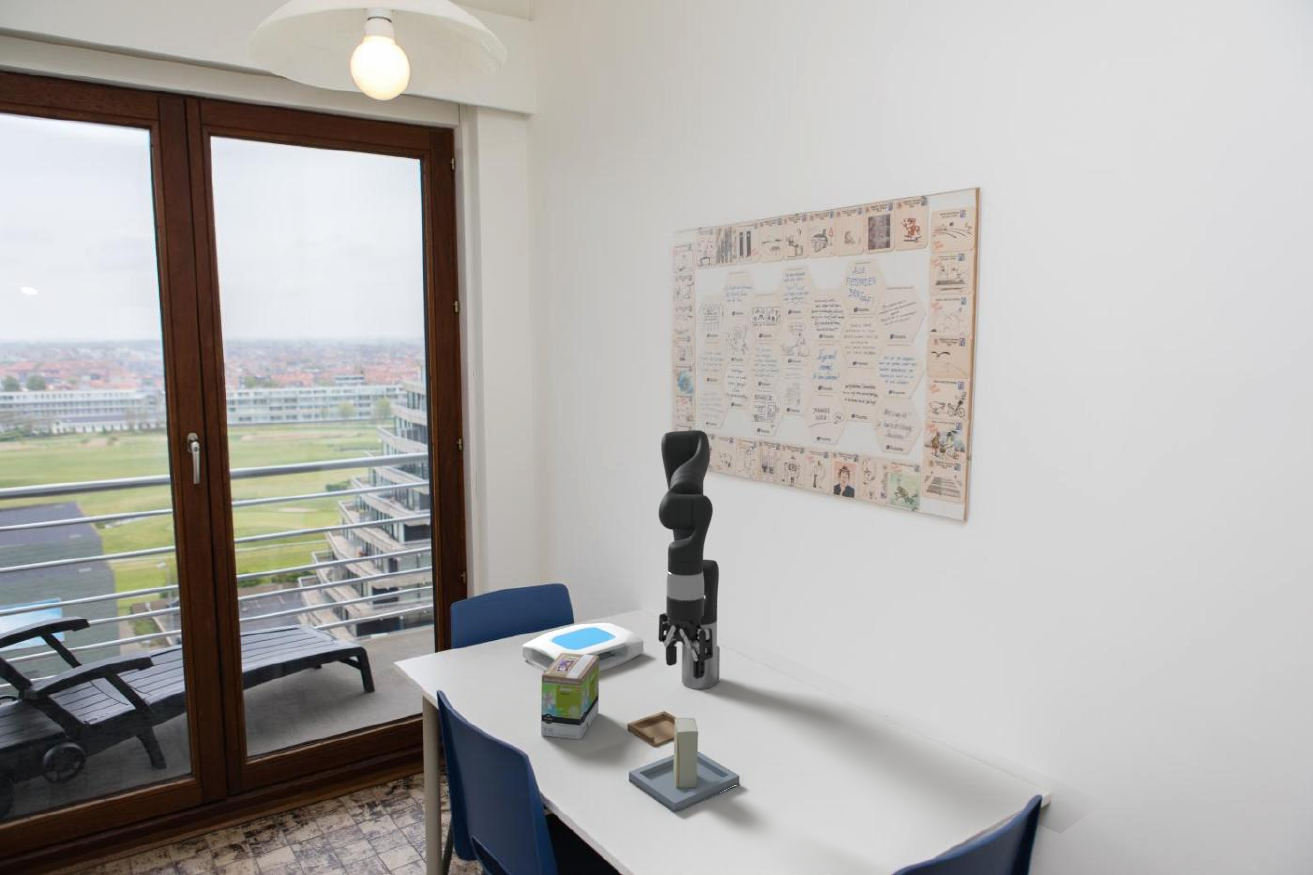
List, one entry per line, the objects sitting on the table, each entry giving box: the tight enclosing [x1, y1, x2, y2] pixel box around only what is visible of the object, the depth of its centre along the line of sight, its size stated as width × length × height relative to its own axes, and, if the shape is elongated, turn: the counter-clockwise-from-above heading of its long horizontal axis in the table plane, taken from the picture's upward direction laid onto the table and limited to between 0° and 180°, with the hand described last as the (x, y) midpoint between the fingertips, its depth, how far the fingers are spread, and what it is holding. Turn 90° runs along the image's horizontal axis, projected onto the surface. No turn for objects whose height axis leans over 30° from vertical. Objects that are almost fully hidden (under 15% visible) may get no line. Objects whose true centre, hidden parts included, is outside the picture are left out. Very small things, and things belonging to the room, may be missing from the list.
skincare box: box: [673, 717, 699, 788], centre depth 173 cm, size 6×4×12 cm
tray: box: [628, 751, 740, 814], centre depth 174 cm, size 17×15×2 cm
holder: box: [626, 711, 677, 748], centre depth 196 cm, size 11×10×2 cm
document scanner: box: [522, 622, 644, 672], centre depth 241 cm, size 21×28×6 cm
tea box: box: [540, 653, 600, 740], centre depth 200 cm, size 15×10×15 cm
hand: (684, 670), depth 171 cm, fingers open, 8 cm apart
